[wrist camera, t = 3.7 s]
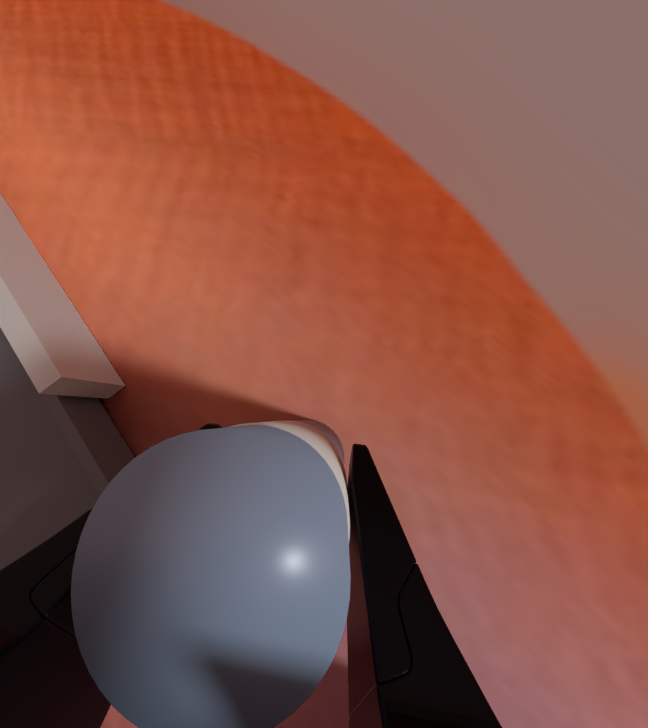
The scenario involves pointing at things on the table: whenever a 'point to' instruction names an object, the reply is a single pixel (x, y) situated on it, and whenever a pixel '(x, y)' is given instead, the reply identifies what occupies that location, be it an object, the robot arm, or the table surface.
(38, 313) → the dock
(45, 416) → the tray
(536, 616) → the table surface
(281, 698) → the canister
